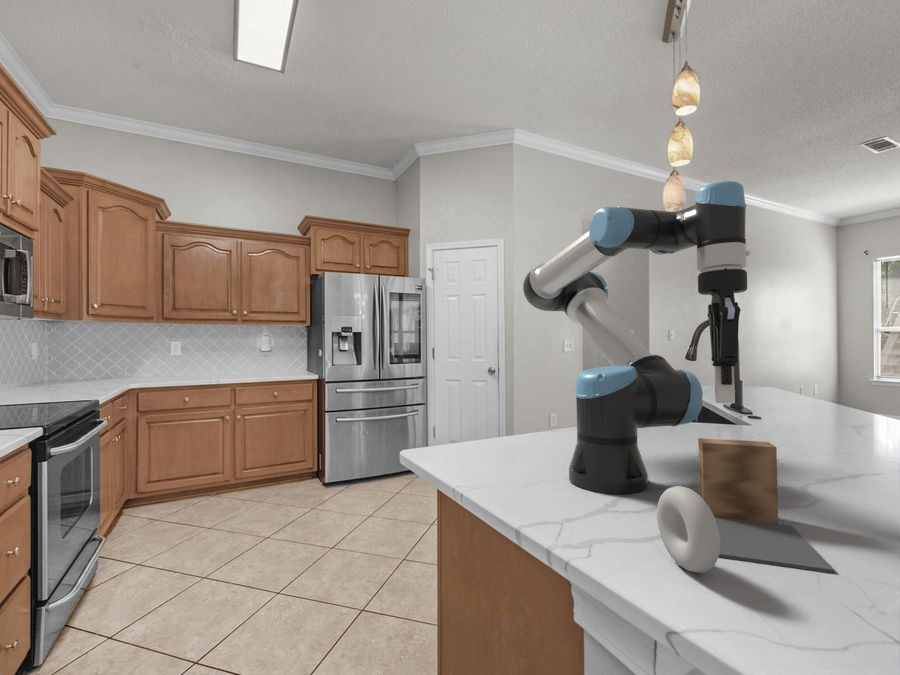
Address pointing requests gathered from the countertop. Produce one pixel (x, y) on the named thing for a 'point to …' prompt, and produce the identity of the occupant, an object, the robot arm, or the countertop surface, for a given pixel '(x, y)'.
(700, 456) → the slab
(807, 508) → the countertop surface
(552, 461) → the countertop surface
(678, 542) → the donut
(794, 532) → the mat
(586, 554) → the countertop surface
